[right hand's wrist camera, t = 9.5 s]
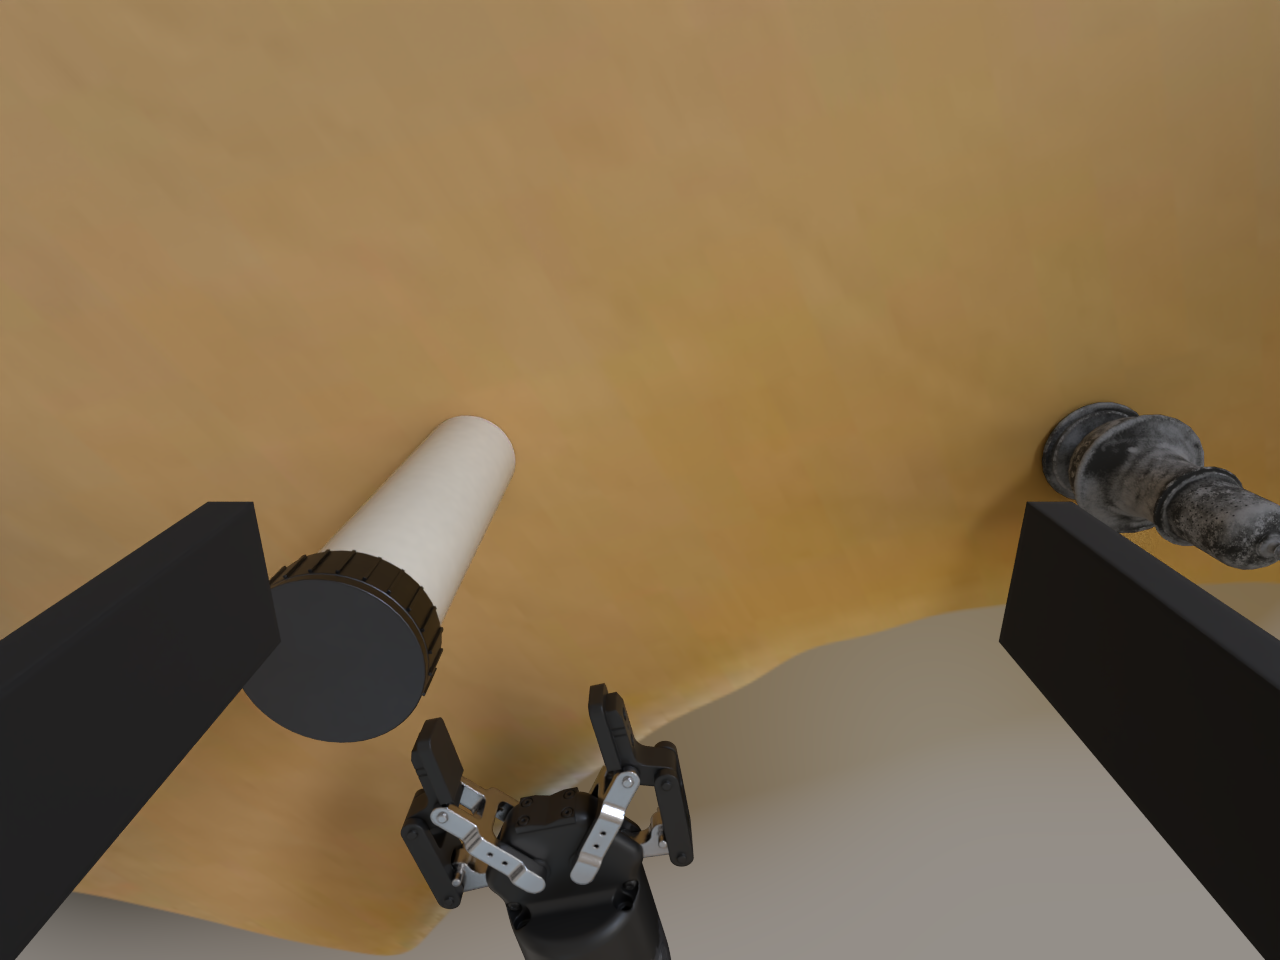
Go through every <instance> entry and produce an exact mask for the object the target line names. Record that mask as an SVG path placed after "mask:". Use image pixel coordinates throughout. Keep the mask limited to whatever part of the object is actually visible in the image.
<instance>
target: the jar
mask: <svg viewBox="0 0 1280 960" xmlns="http://www.w3.org/2000/svg"><path fill="white" fill-rule="evenodd" d="M514 470H515V454H514V450H513V447H512V444H511V442H510V441H509V439H508V437H507V436H506V435H505V433H504V432H503V431H502V430H501V429H500V428H499V427H497V426H496V425H495V424H493V423H492V422H490V421H488V420H486V419H483V418H480V417H476V416H457V417H453V418H450V419H448V420H446V421H444V422H442V423H441V424H439V425H438V426H437V427H436V428H435V429H434V430H433V431H432V432H431V433H430V434H429V435H428V436H427V437H426V438H425V439H424V441H423V442H422V443H421V444H420V445H419V446H418V447H417V448H416V449H415V450H414V451H413V452H412V453H411V454H410V455H409V456H408V457H407V459H406V460H405V461H404V462H403V463H402V464H401V465H400V466H399V467H398V468H397V469H396V470H395V471H394V472H393V473H392V474H391V475H390V476H389V478H388V479H387V480H386V481H385V482H384V483H383V484H382V485H381V486H380V487H379V488H378V489H377V490H376V491H375V492H374V493H373V494H372V495H371V497H370V498H369V499H368V500H367V501H366V502H365V503H364V504H363V505H362V506H361V507H360V508H359V509H358V510H357V511H356V512H355V513H354V515H353V516H352V517H351V518H350V519H349V520H348V521H347V522H346V523H345V524H344V525H343V526H342V527H341V528H340V529H339V530H338V531H337V532H336V534H335V535H334V536H333V537H332V538H331V539H330V540H329V541H328V542H327V543H326V544H325V545H324V546H323V547H322V548H321V549H320V550H319V552H318V553H320V552H325V551H326V550H327V549H330V551H339V550H344V551H352V550H356V552H360V553H366V554H369V555H372V556H375V557H381V558H382V559H383V560H385V561H388V562H390V563H392V564H393V565H395V566H397V567H398V568H400V569H403V570H405V572H406V573H407V574H408V575H410V576H411V577H412V578H413V579H414V580H415V581H416V582H417V583H418V584H419V585H420V586H423V588H424V589H423V590H424V591H425V592H426V594H427V595H428V597H429V598H430V600H431V601H432V603H433V605H434V606H436V608H437V609H436V612H437V615H438V618H439V621H440V626H441V624H442V622H443V620H444V618H445V616H446V614H447V612H448V610H449V608H450V606H451V604H452V602H453V600H454V597H455V595H456V593H457V591H458V589H459V587H460V585H461V583H462V581H463V579H464V577H465V575H466V572H467V570H468V568H469V566H470V564H471V562H472V560H473V558H474V556H475V554H476V552H477V550H478V548H479V545H480V543H481V541H482V539H483V537H484V535H485V533H486V531H487V529H488V527H489V525H490V523H491V520H492V518H493V516H494V514H495V512H496V510H497V508H498V506H499V504H500V502H501V500H502V498H503V496H504V493H505V491H506V489H507V487H508V485H509V483H510V481H511V479H512V477H513V474H514Z"/></svg>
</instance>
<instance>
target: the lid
mask: <svg viewBox="0 0 1280 960" xmlns="http://www.w3.org/2000/svg"><path fill="white" fill-rule="evenodd" d="M269 583H270V588H271V593H272V598H273V603H274V608H275V613H276V618H277V623H278V628H279V633H280V638H281V642H280V644H279V645H278V646H277V647H276V648H275V650H274V651H273V652H272V653H271V654H270V656H269V657H268V658H267V659H266V660H265V661H264V663H263V664H262V665H261V666H260V667H259V669H258V670H257V671H256V672H255V673H254V675H253V676H252V677H251V678H250V679H249V681H248V682H247V683H246V684H245V685H244V687H243V689H244V691H245V693H246V694H247V695H248V697H249V698H250V699H251V701H252V702H253V703H254V704H255V705H256V706H257V707H258V708H259V709H260V710H261V711H262V712H263V713H264V714H265V715H267V716H268V717H269V718H270V719H272V720H273V721H275V722H276V723H278V724H279V725H281V726H283V727H285V728H287V729H288V730H290V731H292V732H295V733H297V734H300V735H302V736H305V737H309V738H312V739H316V740H321V741H327V742H339V743H344V742H357V741H364V740H368V739H372V738H375V737H378V736H380V735H383V734H385V733H387V732H389V731H390V730H392V729H394V728H396V727H397V726H398V725H400V724H401V723H402V722H403V721H404V720H405V719H406V718H407V717H408V716H409V715H410V714H411V713H412V712H413V710H414V709H415V708H416V706H417V704H418V702H419V700H420V698H421V696H425V694H426V692H427V690H428V687H429V685H430V683H431V681H432V678H433V676H434V674H435V672H436V669H437V668H435V667H436V665H437V663H438V661H439V659H440V656H441V654H442V652H443V648H441V643H442V632H443V627H441V626H440V621H439V618H438V615H437V612H436V609H437V608H436V606H434V605H433V603H432V601H431V600H430V598H429V597H428V595H427V594H426V592H425V591H424V590H423V589H424V588H423V586H420V585H419V584H418V583H417V582H416V581H415V580H414V579H413V578H412V577H411V576H410V575H408V574H407V573H406V572H405V570H403V569H400V568H398V567H397V566H395V565H393V564H392V563H390V562H388V561H385V560H383V559H382V558H381V557H375V556H372V555H369V554H366V553H360V552H356V550H352V551H344V550H339V551H330V549H327V550H326V551H325V552H320V553H316V554H312V555H309V556H306V555H303V556H302V557H301V558H300V559H299V560H297V561H296V562H294V563H292V564H291V565H289V566H288V567H286V566H283V567H282V568H281V569H280V570H279V571H278V572H277V573H276V574H275V575H274V576H273V577H272V578H271V579H270V580H269Z"/></svg>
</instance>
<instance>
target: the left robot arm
mask: <svg viewBox="0 0 1280 960" xmlns="http://www.w3.org/2000/svg"><path fill="white" fill-rule="evenodd" d="M588 709H589V716H590V719H591V722H592V726H593V729H594V732H595V735H596V738H597V741H598V744H599V747H600V750H601V753H602V757H603V760H604V763H605V766H603V767H602V769H601V771H600V772H599V774H598V776H597V778H596V780H595V782H594V784H593V786H592V788H591V790H590V791H589V793H585V792H579V790H578V788H577V787H575V788H570V789H565V790H562V791H559V792H557V793H555V794H553V795H550V796H544V795H534V796H529V797H523V798H521V799H520V802H518V801H516V800H515V799H513V798H512V797H510V796H508V795H507V794H505V793H503V792H502V791H500V790H498V789H497V788H494V787H492V788H489V789H488V790H485V789H483V788H482V787H480V786H478V785H477V784H475V783H473V782H472V781H470V780H468V779H467V778H465V777H463V776H462V774H463V767H462V765H461V763H460V760H459V758H458V755H457V753H456V750H455V748H454V745H453V743H452V741H451V738H450V736H449V733H448V731H447V728H446V726H445V723H444V721H443V719H442V718H441V717H439V718H434V719H429V720H426V721H425V723H424V725H423V728H422V730H421V732H420V733H419V736H418V738H417V740H416V743H415V745H414V748H413V750H412V755H411V761H412V764H413V766H414V768H415V769H416V773H417V775H418V776H419V780H420V782H421V784H422V786H423V789H420V790H418V791H417V792H416V793H415V796H414V798H413V801H412V804H411V806H410V809H409V812H408V814H407V817H406V819H405V822H404V824H403V827H402V830H401V836H402V838H403V840H404V842H405V843H406V845H407V847H408V849H409V851H410V853H411V854H412V856H413V858H414V860H415V862H416V863H417V865H418V867H419V869H420V871H421V872H422V874H423V876H424V878H425V880H426V882H427V883H428V885H429V887H430V889H431V891H432V892H433V894H434V896H435V898H436V900H437V902H438V903H439V905H440V906H442V907H443V908H446V909H454V908H456V907H458V906H459V905H460V902H461V898H462V894H463V892H466V891H470V890H475V889H479V888H483V887H488V886H489V888H490V889H491V890H492V891H493V892H495V893H496V894H497V895H499V896H500V897H501V898H502V899H503V900H504V902H505V904H506V907H507V911H508V915H509V919H510V923H511V926H512V929H513V931H514V934H515V936H516V939H517V941H518V943H519V946H520V948H521V950H522V953H523V955H524V957H525V960H671V957H670V952H669V947H668V943H667V940H666V936H665V933H664V930H663V927H662V924H661V921H660V918H659V915H658V912H657V908H656V905H655V902H654V899H653V896H652V893H651V889H650V886H649V883H648V880H647V877H646V874H645V871H644V867H643V864H642V861H643V858H645V857H653V856H660V855H667V854H669V856H670V860H671V862H672V863H673V864H674V865H676V866H687V865H689V864H690V863H691V862H692V861H693V858H694V857H693V844H692V832H691V821H690V815H689V810H688V805H687V800H686V795H685V790H684V784H683V779H682V774H681V769H680V765H679V759H678V754H677V749H676V746H675V745H674V744H673V743H671V742H669V741H661V742H659V743H657V744H656V745H655V746H654V747H650V746H644V745H641V744H640V743H638V742H637V741H636V740H635V738H634V735H633V731H632V728H631V725H630V721H629V718H628V715H627V711H626V708H625V705H624V701H623V699H622V698H621V697H620V695H619V694H618V693H617V692H614V693H609V694H608V691H607V687H606V685H605V683H603V684H598V685H593V686H590V693H589V702H588ZM639 785H646V786H654V787H655V791H656V796H657V801H658V805H659V807H658V808H657V812H656V813H654V814H653V815H652V817H651V824H650V826H649V827H648V828H647V829H645V830H642V831H641V829H640V827H639V826H638V825H637V824H636V823H634V822H633V821H632V820H630V819H629V818H627V817H625V816H624V815H625V811H626V809H627V807H628V805H629V803H630V801H631V800H632V798H633V796H634V794H635V792H636V791H637V789H638V787H639ZM459 804H461V805H463V806H465V807H466V808H468V809H470V810H471V811H472V813H473V816H472V815H470V814H469V813H467V812H465V811H464V810H462V809H460V808H459ZM495 817H496V818H498V819H499V820H501V821H503V822H504V824H503V826H502V828H501V830H500V833H499V835H498V837H497V838H496V836H495V835H494V833H493V825H494V821H495ZM460 839H461V840H462V841H463V842H464V843H463V844H462V843H461V841H460Z"/></svg>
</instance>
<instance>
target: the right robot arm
mask: <svg viewBox="0 0 1280 960" xmlns="http://www.w3.org/2000/svg"><path fill="white" fill-rule="evenodd" d="M280 642H281V638H280V633H279V628H278V623H277V618H276V613H275V608H274V603H273V598H272V593H271V588H270V583H269V578H268V573H267V568H266V563H265V558H264V553H263V548H262V543H261V539H260V534H259V529H258V524H257V519H256V514H255V509H254V504H253V502H207V503H205V504H204V505H202V506H201V507H199V508H198V509H196V510H195V511H193V512H192V513H190V514H189V515H187V516H186V517H184V518H183V519H181V520H180V521H178V522H177V523H175V524H174V525H173V526H171V527H170V528H168V529H167V530H165V531H164V532H162V533H161V534H159V535H158V536H156V537H155V538H153V539H152V540H150V541H149V542H147V543H146V544H144V545H143V546H141V547H140V548H138V549H137V550H135V551H134V552H132V553H131V554H129V555H128V556H126V557H125V558H123V559H122V560H120V561H119V562H117V563H116V564H114V565H113V566H111V567H110V568H108V569H107V570H105V571H104V572H102V573H101V574H99V575H98V576H96V577H95V578H93V579H92V580H90V581H89V582H87V583H86V584H84V585H83V586H81V587H80V588H78V589H77V590H75V591H74V592H72V593H71V594H69V595H68V596H66V597H65V598H63V599H62V600H60V601H59V602H57V603H56V604H54V605H53V606H51V607H50V608H48V609H47V610H45V611H44V612H42V613H41V614H39V615H38V616H36V617H35V618H33V619H32V620H30V621H29V622H27V623H26V624H24V625H23V626H21V627H20V628H18V629H17V630H15V631H14V632H12V633H11V634H9V635H8V636H6V637H5V638H3V639H2V640H0V960H15V959H16V958H17V957H18V955H19V954H20V953H21V952H22V951H23V949H24V948H25V947H26V946H27V945H28V943H29V942H30V941H31V940H32V939H33V937H34V936H35V935H36V934H37V933H38V931H39V930H40V929H41V928H42V927H43V925H44V924H45V923H46V922H47V921H48V919H49V918H50V917H51V916H52V915H53V913H54V912H55V911H56V910H57V909H58V908H59V906H60V905H61V904H62V903H63V902H64V900H65V899H66V898H67V897H68V896H69V894H70V893H71V892H72V891H73V890H74V888H75V887H76V886H77V885H78V884H79V882H80V881H81V880H82V879H83V878H84V876H85V875H86V874H87V873H88V872H89V871H90V869H91V868H92V867H93V866H94V865H95V863H96V862H97V861H98V860H99V859H100V857H101V856H102V855H103V854H104V853H105V851H106V850H107V849H108V848H109V847H110V845H111V844H112V843H113V842H114V841H115V839H116V838H117V837H118V836H119V835H120V833H121V832H122V831H123V830H124V829H125V828H126V826H127V825H128V824H129V823H130V822H131V820H132V819H133V818H134V817H135V816H136V814H137V813H138V812H139V811H140V810H141V808H142V807H143V806H144V805H145V804H146V802H147V801H148V800H149V799H150V798H151V796H152V795H153V794H154V793H155V792H156V790H157V789H158V788H159V787H160V786H161V785H162V783H163V782H164V781H165V780H166V779H167V777H168V776H169V775H170V774H171V773H172V771H173V770H174V769H175V768H176V767H177V765H178V764H179V763H180V762H181V761H182V759H183V758H184V757H185V756H186V755H187V753H188V752H189V751H190V750H191V749H192V747H193V746H194V745H195V744H196V743H197V742H198V740H199V739H200V738H201V737H202V736H203V734H204V733H205V732H206V731H207V730H208V728H209V727H210V726H211V725H212V724H213V722H214V721H215V720H216V719H217V718H218V716H219V715H220V714H221V713H222V712H223V710H224V709H225V708H226V707H227V706H228V704H229V703H230V702H231V701H232V700H233V699H234V697H235V696H236V695H237V694H238V693H239V691H240V690H241V689H242V688H243V687H244V685H245V684H246V683H247V682H248V681H249V679H250V678H251V677H252V676H253V675H254V673H255V672H256V671H257V670H258V669H259V667H260V666H261V665H262V664H263V663H264V661H265V660H266V659H267V658H268V657H269V656H270V654H271V653H272V652H273V651H274V650H275V648H276V647H277V646H278V645H279V644H280ZM999 642H1000V644H1001V645H1002V646H1003V647H1004V648H1005V649H1006V651H1007V652H1008V653H1009V654H1010V656H1011V657H1012V658H1013V659H1014V660H1015V661H1016V663H1017V664H1018V665H1019V666H1020V667H1021V669H1022V670H1023V671H1024V672H1025V673H1026V675H1027V676H1028V677H1029V678H1030V679H1031V681H1032V682H1033V683H1034V684H1035V685H1036V686H1037V688H1038V689H1039V690H1040V691H1041V692H1042V694H1043V695H1044V696H1045V697H1046V699H1047V700H1048V701H1049V702H1050V703H1051V704H1052V706H1053V707H1054V708H1055V709H1056V710H1057V712H1058V713H1059V714H1060V715H1061V716H1062V718H1063V719H1064V720H1065V721H1066V722H1067V724H1068V725H1069V726H1070V727H1071V728H1072V730H1073V731H1074V732H1075V733H1076V734H1077V736H1078V737H1079V738H1080V739H1081V740H1082V741H1083V743H1084V744H1085V745H1086V746H1087V747H1088V749H1089V750H1090V751H1091V752H1092V753H1093V755H1094V756H1095V757H1096V758H1097V759H1098V761H1099V762H1100V763H1101V764H1102V765H1103V767H1104V768H1105V769H1106V770H1107V771H1108V773H1109V774H1110V775H1111V776H1112V777H1113V779H1114V780H1115V781H1116V782H1117V783H1118V785H1119V786H1120V787H1121V788H1122V789H1123V790H1124V792H1125V793H1126V794H1127V795H1128V796H1129V798H1130V799H1131V800H1132V801H1133V802H1134V804H1135V805H1136V806H1137V807H1138V808H1139V810H1140V811H1141V812H1142V813H1143V814H1144V816H1145V817H1146V818H1147V819H1148V820H1149V822H1150V823H1151V824H1152V825H1153V826H1154V828H1155V829H1156V830H1157V831H1158V832H1159V833H1160V835H1161V836H1162V837H1163V838H1164V839H1165V841H1166V842H1167V843H1168V844H1169V845H1170V847H1171V848H1172V849H1173V850H1174V851H1175V853H1176V854H1177V855H1178V856H1179V857H1180V859H1181V860H1182V861H1183V862H1184V863H1185V865H1186V866H1187V867H1188V868H1189V869H1190V870H1191V872H1192V873H1193V874H1194V875H1195V876H1196V878H1197V879H1198V880H1199V881H1200V882H1201V884H1202V885H1203V886H1204V887H1205V888H1206V890H1207V891H1208V892H1209V893H1210V894H1211V896H1212V897H1213V898H1214V899H1215V900H1216V902H1217V903H1218V904H1219V905H1220V906H1221V908H1222V909H1223V910H1224V911H1225V912H1226V914H1227V915H1228V916H1229V917H1230V918H1231V919H1232V921H1233V922H1234V923H1235V924H1236V925H1237V927H1238V928H1239V929H1240V930H1241V931H1242V933H1243V934H1244V935H1245V936H1246V937H1247V939H1248V940H1249V941H1250V942H1251V943H1252V944H1253V946H1254V947H1255V948H1256V949H1257V951H1258V952H1259V953H1260V954H1261V955H1262V957H1263V958H1264V959H1265V960H1280V641H1279V640H1278V639H1276V638H1275V637H1274V636H1272V635H1271V634H1269V633H1268V632H1266V631H1265V630H1263V629H1262V628H1260V627H1259V626H1257V625H1255V624H1254V623H1253V622H1251V621H1250V620H1248V619H1247V618H1245V617H1244V616H1242V615H1241V614H1239V613H1238V612H1236V611H1235V610H1233V609H1232V608H1230V607H1229V606H1227V605H1226V604H1224V603H1222V602H1221V601H1220V600H1218V599H1217V598H1215V597H1214V596H1212V595H1211V594H1209V593H1208V592H1206V591H1205V590H1203V589H1202V588H1200V587H1199V586H1197V585H1196V584H1194V583H1193V582H1191V581H1190V580H1188V579H1187V578H1185V577H1184V576H1182V575H1181V574H1179V573H1178V572H1176V571H1175V570H1173V569H1172V568H1170V567H1169V566H1167V565H1166V564H1164V563H1163V562H1161V561H1160V560H1158V559H1157V558H1155V557H1154V556H1152V555H1151V554H1149V553H1148V552H1146V551H1145V550H1143V549H1142V548H1140V547H1139V546H1137V545H1136V544H1134V543H1133V542H1131V541H1130V540H1128V539H1127V538H1125V537H1124V536H1122V535H1121V534H1119V533H1118V532H1116V531H1115V530H1113V529H1112V528H1110V527H1109V526H1107V525H1106V524H1104V523H1103V522H1102V521H1100V520H1099V519H1097V518H1096V517H1094V516H1093V515H1091V514H1090V513H1088V512H1087V511H1085V510H1084V509H1082V508H1081V507H1079V506H1078V505H1076V504H1075V503H1073V502H1027V504H1026V509H1025V514H1024V519H1023V524H1022V529H1021V533H1020V538H1019V543H1018V548H1017V553H1016V558H1015V563H1014V568H1013V573H1012V578H1011V583H1010V588H1009V593H1008V598H1007V603H1006V608H1005V614H1004V618H1003V624H1002V628H1001V633H1000V639H999Z"/></svg>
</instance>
